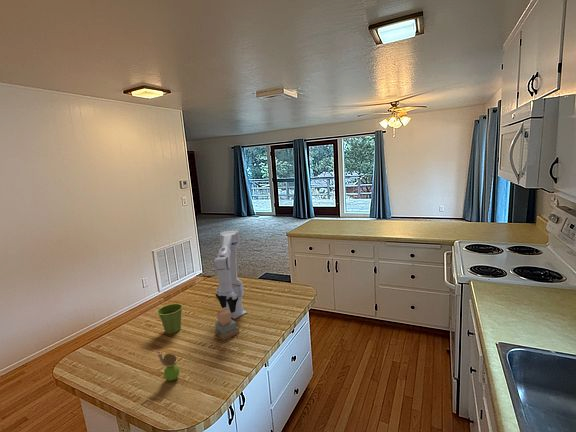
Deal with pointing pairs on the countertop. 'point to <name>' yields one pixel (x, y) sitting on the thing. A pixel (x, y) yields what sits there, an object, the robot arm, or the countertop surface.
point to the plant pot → (171, 317)
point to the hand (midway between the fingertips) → (228, 309)
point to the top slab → (226, 327)
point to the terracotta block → (224, 317)
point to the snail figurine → (169, 366)
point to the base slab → (228, 334)
